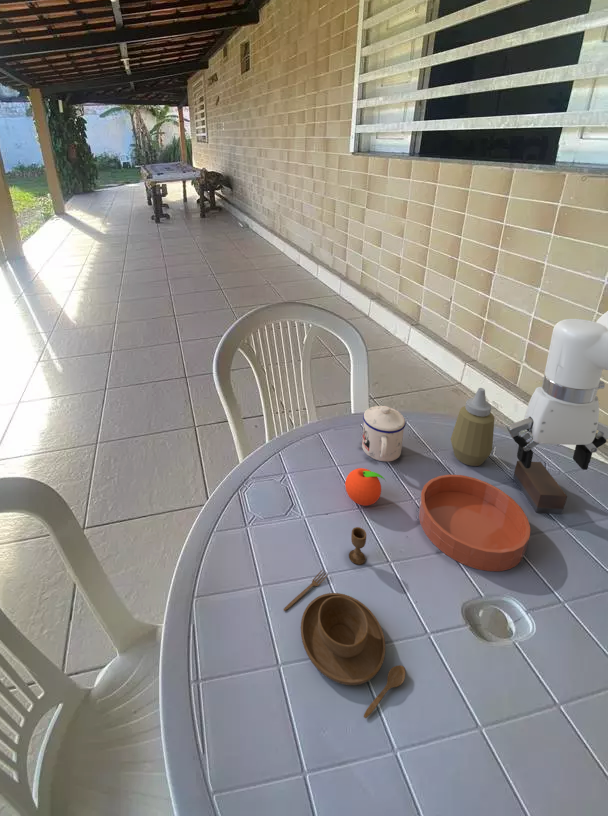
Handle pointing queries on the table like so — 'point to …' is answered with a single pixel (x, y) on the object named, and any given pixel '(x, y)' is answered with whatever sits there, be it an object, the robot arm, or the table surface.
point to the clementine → (363, 486)
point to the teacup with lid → (383, 433)
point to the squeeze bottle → (474, 431)
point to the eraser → (540, 488)
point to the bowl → (474, 522)
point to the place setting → (346, 634)
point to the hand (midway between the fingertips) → (551, 463)
